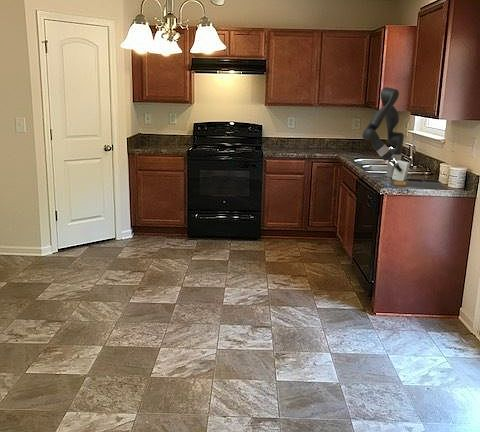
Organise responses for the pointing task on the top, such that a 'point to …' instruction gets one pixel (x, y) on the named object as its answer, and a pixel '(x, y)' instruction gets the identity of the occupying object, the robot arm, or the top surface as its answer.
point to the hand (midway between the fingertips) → (399, 170)
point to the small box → (403, 174)
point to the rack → (416, 183)
